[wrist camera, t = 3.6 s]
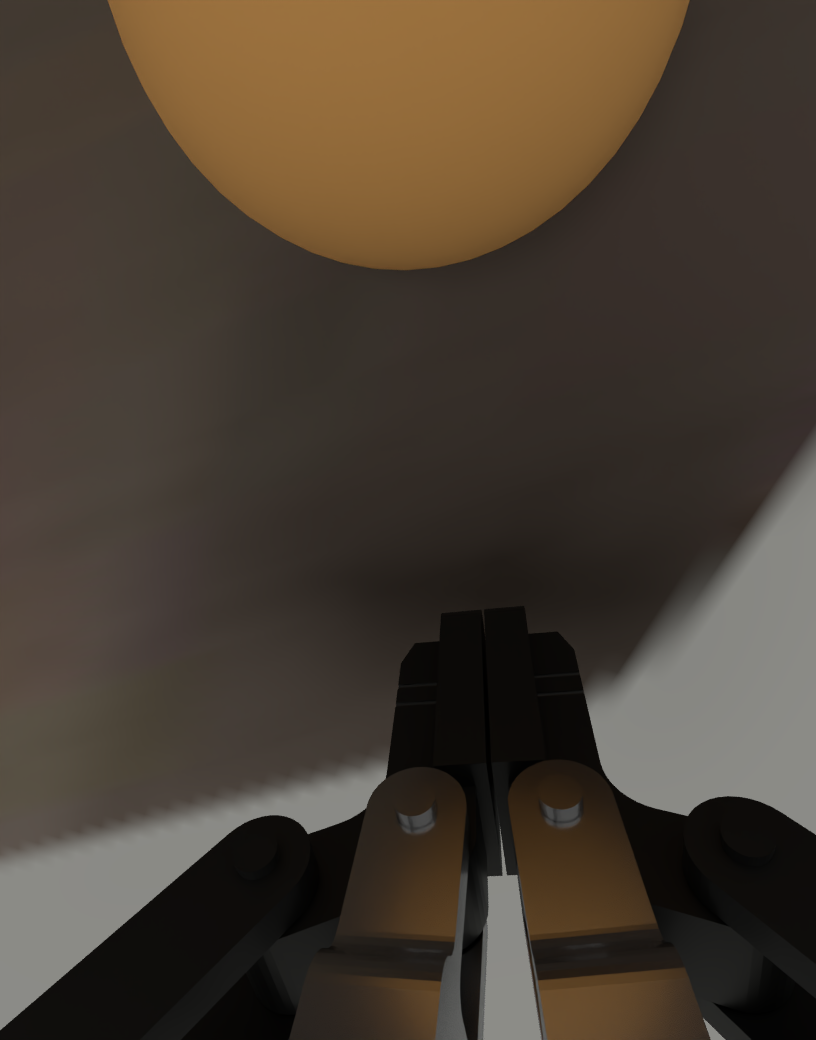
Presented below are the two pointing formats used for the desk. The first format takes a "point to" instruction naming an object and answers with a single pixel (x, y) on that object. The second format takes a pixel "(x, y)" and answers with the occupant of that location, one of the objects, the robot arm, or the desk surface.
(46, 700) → the desk surface
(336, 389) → the desk surface
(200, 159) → the ball
